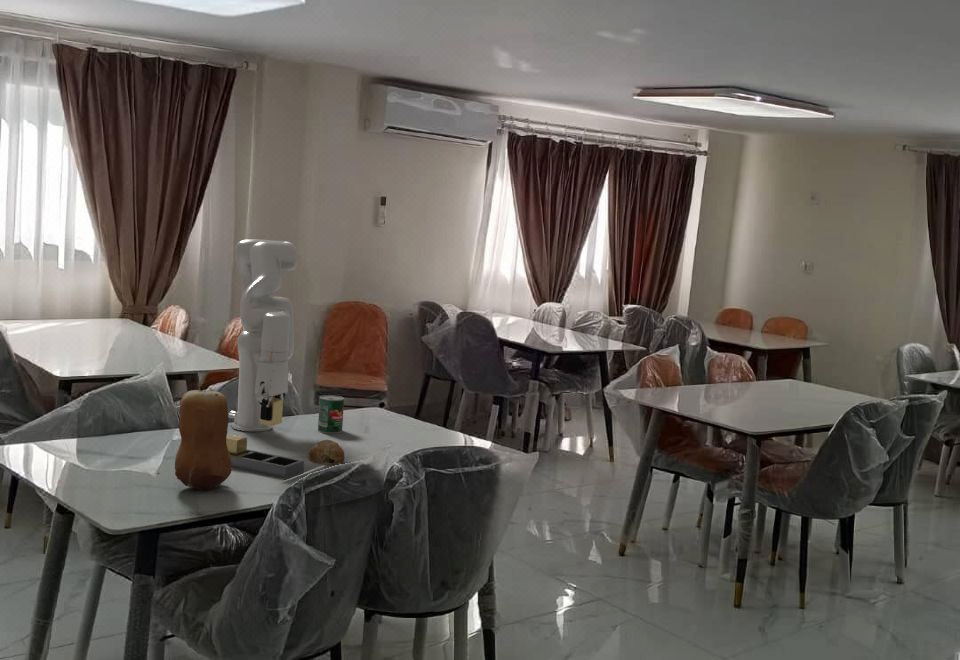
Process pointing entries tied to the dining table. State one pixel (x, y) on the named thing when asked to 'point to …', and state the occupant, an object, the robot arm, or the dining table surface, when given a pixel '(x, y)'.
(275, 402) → the tan cubic block
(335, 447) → the bread roll
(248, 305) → the robot arm
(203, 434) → the butternut squash
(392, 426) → the dining table surface
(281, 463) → the grey compartment tray
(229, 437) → the khaki cardboard box
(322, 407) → the canned tomato
